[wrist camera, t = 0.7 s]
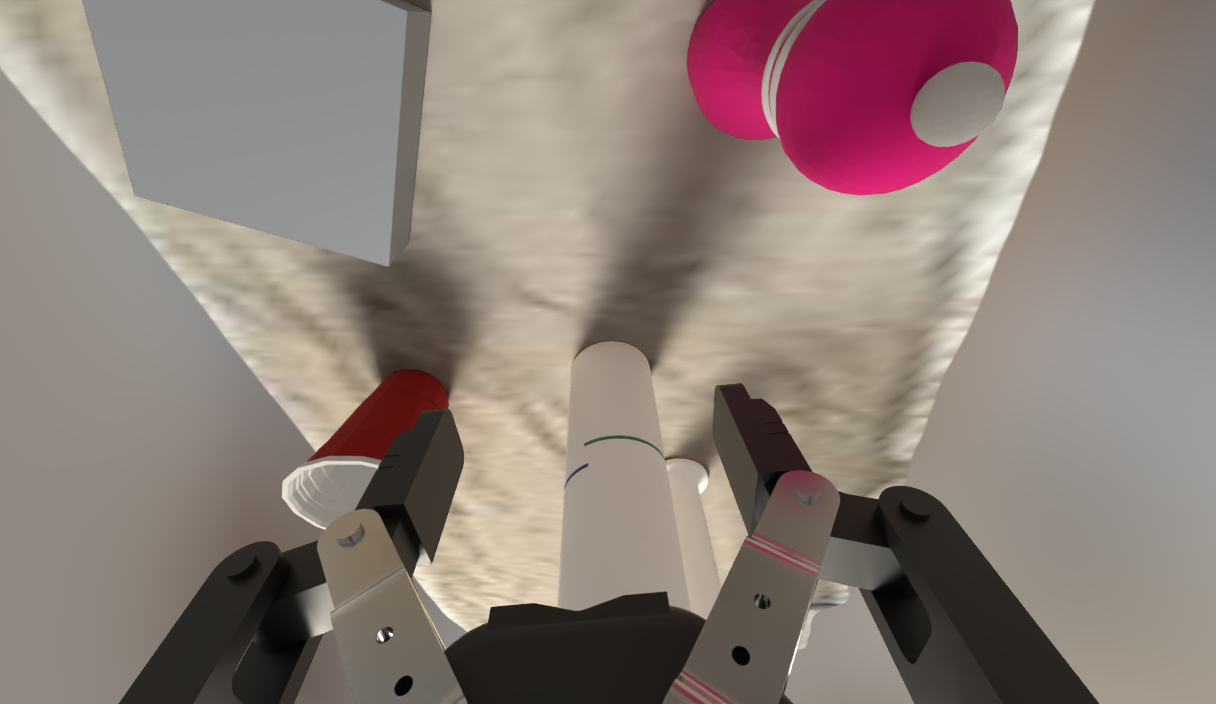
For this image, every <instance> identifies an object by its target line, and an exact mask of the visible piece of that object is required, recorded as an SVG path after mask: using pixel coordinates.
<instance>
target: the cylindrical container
mask: <svg viewBox="0 0 1216 704" xmlns="http://www.w3.org/2000/svg"><path fill="white" fill-rule="evenodd" d="M665 591H667V594H668V601H669V605H670V606H675V607H679V608H682V609H685V610H688V611H691V608H690V602H689V596H688V590H687V584H686V578H685V573H684V567H683V561H682V555H681V549H680V543H679V537H678V531H677V525H676V519H675V514H674V508H673V502H672V496H671V490H670V484H669V478H668V473H667V467H666V461H665V455H664V449H663V443H662V437H661V431H660V425H659V419H658V413H657V407H656V401H655V395H654V389H653V383H652V377H651V371H650V366H649V363H648V360H647V358H646V357H645V355H644V354H643V353H642V352H641V351H640V350H638V349H637V348H635V347H634V346H632V345H629V344H627V343H623V342H618V341H607V342H600V343H597V344H593V345H591V346H589V347H587V348H586V349H584V350H583V351H581V352H580V353H579V355H578V356H577V357H576V358H575V360H574V362H573V364H572V367H571V379H570V396H569V412H568V430H567V448H566V467H565V486H564V503H563V520H562V536H561V553H560V570H559V587H558V605H557V607H558V608H563V609H568V610H574V611H580V610H584V609H587V608H590V607H592V606H595V605H598V604H601V603H603V602H606V601H609V600H612V599H615V598H617V597H620V596H623V595H631V594H643V593H654V592H665Z"/></svg>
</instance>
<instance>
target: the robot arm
mask: <svg viewBox="0 0 1216 704" xmlns="http://www.w3.org/2000/svg"><path fill="white" fill-rule="evenodd" d="M713 434H714V440H715V444H716V447H717V450H718V453H719V456H720V458H721V461H722V464H723V466H724V469H725V472H726V475H727V477H728V480H729V483H730V486H731V488H732V491H733V494H734V496H735V499H736V502H737V505H738V507H739V510H740V513H741V516H742V518H743V521H744V524H745V526H746V529H747V532H748V535H749V536H747V537H746V539H745V540H744V542H743V544H742V546H741V548H740V550H739V553H738V555H737V557H736V559H735V561H734V563H733V565H732V567H731V569H730V571H729V574H728V576H727V578H726V580H725V582H724V584H723V586H722V588H721V590H720V593H719V595H718V597H717V599H716V601H715V603H714V605H713V607H712V609H711V611H710V614H709V616H708V618H707V620H706V619H704V618H702V617H701V616H699V615H697V614H695V613H693V612H691V611H688V610H685V609H682V608H679V607H675V606H670V605H669V601H668V594H667V591H665V592H654V593H643V594H631V595H623V596H620V597H617V598H615V599H612V600H609V601H606V602H603V603H601V604H598V605H595V606H592V607H590V608H587V609H584V610H580V611H574V610H568V609H563V608H558V607H552V606H547V605H541V604H536V603H531V604H520V605H508V606H497V607H491V609H490V615H489V620H488V623H485V624H483V625H481V626H479V627H477V628H475V629H473V630H471V631H469V632H468V633H466V634H465V635H463V636H462V637H460V638H459V639H458V640H456V641H455V642H454V643H453V644H451V646H449V647H448V648H447V649H446V648H445V646H444V644H443V642H442V640H441V638H440V636H439V634H438V632H437V630H436V627H435V626H434V623H433V621H432V620H431V617H430V615H429V613H428V611H427V609H426V607H425V605H424V602H423V601H422V598H421V596H420V594H419V592H418V590H417V588H416V586H415V584H414V582H413V580H412V576H413V573H414V570H415V567H416V566H419V565H430V564H432V562H433V559H434V556H435V553H436V550H437V547H438V544H439V540H440V537H441V534H442V531H443V528H444V525H445V522H446V519H447V515H448V512H449V509H450V506H451V503H452V500H453V497H454V494H455V490H456V487H457V484H458V481H459V478H460V475H461V472H462V469H463V464H464V451H463V446H462V443H461V440H460V437H459V434H458V431H457V428H456V425H455V422H454V419H453V416H452V413H451V411H450V410H449V409H441V410H430V411H422V412H421V413H420V415H419V417H418V419H417V421H416V423H415V425H414V427H413V429H406V430H404V431H403V432H402V433H401V434H400V435H399V436H398V437H397V438H396V439H394V440H393V441H392V442H391V444H390V446H389V448H388V450H387V452H386V453H385V455H384V459H382V461H381V463H380V464H379V466H378V470H376V472H375V474H374V475H373V477H372V479H371V481H370V483H369V485H368V486H367V488H366V490H365V492H364V494H363V496H362V497H361V499H360V501H359V503H358V505H357V507H356V508H355V510H354V511H352V512H349V513H347V514H345V515H343V516H341V517H339V518H338V519H336V520H335V521H333V522H332V523H331V524H330V525H329V526H328V527H327V528H326V529H325V530H324V532H323V533H322V534H321V536H320V538H319V540H317V541H315V542H312V543H309V544H306V545H303V546H300V547H297V548H295V549H292V550H289V551H286V552H283V553H282V552H281V551H280V549H279V548H278V547H277V545H276V544H274V543H273V542H268V541H262V542H256V543H253V544H250V545H247V546H245V547H243V548H241V549H239V550H237V551H235V552H234V553H232V554H231V555H229V556H228V557H227V558H225V559H224V560H223V561H222V562H221V563H220V564H219V565H218V566H217V567H216V568H215V569H214V570H213V571H212V573H211V574H210V576H209V577H208V578H207V580H206V581H205V582H204V584H203V585H202V587H201V588H200V590H199V591H198V592H197V594H196V595H195V597H194V598H193V599H192V601H191V602H190V604H189V605H188V607H187V608H186V609H185V611H184V612H183V614H182V615H181V616H180V618H179V619H178V621H177V622H176V623H175V625H174V626H173V628H172V629H171V630H170V632H169V633H168V635H167V636H166V638H165V639H164V640H163V642H162V643H161V645H160V646H159V647H158V649H157V650H156V652H155V653H154V654H153V656H152V657H151V659H150V660H149V662H148V663H147V664H146V666H145V667H144V669H143V670H142V671H141V673H140V674H139V676H138V677H137V679H136V680H135V681H134V683H133V684H132V686H131V687H130V688H129V690H128V691H127V693H126V694H125V696H124V697H123V698H122V700H121V701H120V703H119V704H294V702H295V700H296V697H297V695H298V692H299V690H300V688H301V685H302V683H303V681H304V678H305V676H306V674H307V671H308V669H309V667H310V664H311V662H312V659H313V657H314V655H315V652H316V650H317V648H318V645H319V643H320V640H321V638H322V636H323V633H325V632H327V631H330V630H332V629H333V631H334V634H335V638H336V641H337V645H338V649H339V652H340V656H341V660H342V663H343V667H344V670H345V674H346V677H347V681H348V684H349V688H350V692H351V695H352V699H353V703H354V704H793V703H792V702H791V701H790V700H789V699H788V698H787V697H786V696H785V695H784V693H785V690H786V686H787V683H788V680H789V677H790V673H791V669H792V666H793V663H794V660H795V656H796V652H797V649H798V646H799V642H800V639H801V636H802V632H803V629H804V626H805V622H806V619H807V616H808V612H809V609H810V606H811V602H812V599H813V596H814V592H815V589H816V586H817V582H818V579H822V580H827V581H831V582H836V583H840V584H845V585H849V586H854V587H858V588H859V590H860V592H861V593H862V596H863V598H864V600H865V602H866V604H867V606H868V608H869V610H870V612H871V614H872V616H873V618H874V621H875V623H876V625H877V627H878V629H879V631H880V633H881V635H882V637H883V639H884V641H885V644H886V646H887V648H888V650H889V652H890V654H891V656H892V658H893V660H894V662H895V664H896V666H897V668H898V671H899V673H900V675H901V677H902V679H903V681H904V683H905V685H906V687H907V689H908V691H909V693H910V695H911V697H912V700H913V702H914V704H1099V703H1098V701H1097V700H1096V699H1095V698H1094V697H1093V695H1092V694H1091V693H1090V691H1089V690H1088V689H1087V687H1086V686H1085V685H1084V684H1083V682H1082V681H1081V680H1080V678H1079V677H1078V676H1077V675H1076V673H1075V672H1074V671H1073V670H1072V668H1071V667H1070V666H1069V664H1068V663H1067V662H1066V660H1065V659H1064V658H1063V657H1062V655H1061V654H1060V653H1059V652H1058V650H1057V649H1056V648H1055V647H1054V645H1053V644H1052V643H1051V641H1050V640H1049V639H1048V638H1047V636H1046V635H1045V634H1044V632H1043V631H1042V630H1041V628H1040V627H1039V626H1038V625H1037V623H1036V622H1035V621H1034V620H1033V618H1032V617H1031V616H1030V614H1029V613H1028V612H1027V611H1026V609H1025V608H1024V607H1023V605H1022V604H1021V603H1020V602H1019V600H1018V599H1017V598H1016V596H1015V595H1014V594H1013V593H1012V591H1011V590H1010V589H1009V587H1008V586H1007V585H1006V584H1005V582H1004V581H1003V580H1002V579H1001V577H1000V576H999V575H998V573H997V572H996V571H995V570H994V569H993V567H992V566H991V564H990V563H989V562H988V561H987V559H986V558H985V557H984V555H983V554H982V553H981V552H980V550H979V549H978V548H977V546H976V545H975V544H974V543H973V541H972V540H971V539H970V538H969V537H968V535H967V534H966V532H965V531H964V530H963V529H962V527H961V526H960V525H959V524H958V522H957V521H956V520H955V518H954V517H953V516H952V514H951V513H950V512H949V511H948V509H947V508H946V507H945V506H944V505H943V504H942V503H941V502H940V501H938V500H937V499H936V498H935V497H933V496H931V495H930V494H928V493H926V492H924V491H922V490H919V489H916V488H912V487H907V486H892V487H889V488H887V489H885V490H884V491H883V492H882V493H881V494H880V497H879V499H873V498H867V497H861V496H855V495H850V494H845V493H842V492H839V491H837V489H836V487H835V486H834V485H833V484H832V483H831V482H830V481H829V480H827V479H826V478H825V477H823V476H821V475H819V474H816V473H814V472H812V470H811V469H810V467H809V465H808V464H807V462H806V460H805V459H804V457H803V455H802V454H801V452H800V450H799V448H798V447H797V445H796V443H795V442H794V440H793V438H792V437H791V435H790V434H789V433H788V430H787V428H786V427H785V425H784V424H783V423H782V420H781V418H780V416H779V415H778V413H777V411H776V410H775V408H773V407H772V406H771V405H769V404H768V403H767V402H765V401H764V400H763V399H762V398H761V399H750V397H749V395H748V393H747V391H746V389H745V387H744V386H743V384H741V383H740V384H728V385H717V386H716V388H715V397H714V414H713ZM251 640H252V642H251ZM250 642H251V644H250ZM249 644H250V646H249V648H248V650H247V651H246V649H247V647H248V645H249ZM245 651H246V653H245ZM244 653H245V655H244V657H243V659H242V660H241V658H242V656H243V654H244ZM240 660H241V662H240ZM239 662H240V664H239ZM238 664H239V666H238V668H237V670H236V671H235V669H236V667H237V665H238ZM234 672H235V673H234Z"/></svg>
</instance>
